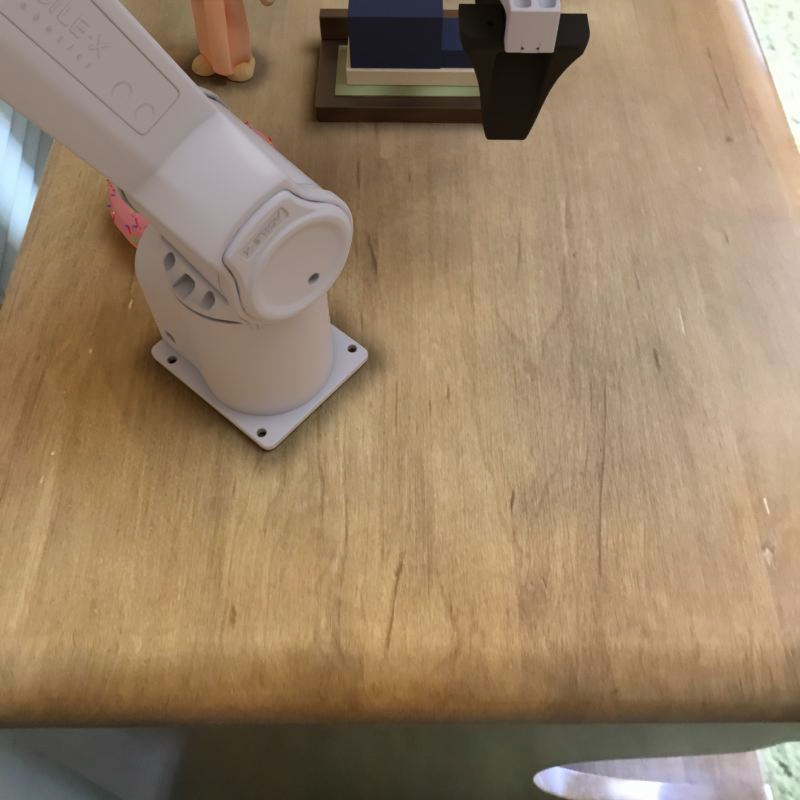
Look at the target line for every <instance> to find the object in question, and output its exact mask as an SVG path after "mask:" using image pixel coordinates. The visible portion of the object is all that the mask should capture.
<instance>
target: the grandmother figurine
mask: <svg viewBox="0 0 800 800" xmlns="http://www.w3.org/2000/svg"><path fill="white" fill-rule="evenodd" d="M275 1H276V0H259V2H260V3H261V4H262V6H264V7H271V6H272V5H274V3H275ZM190 5H191V11H192V16H193V17H192V18H193V22H194V29H195V35H196V41H197V45H198V51H199V52H200V54H199V55H197V56H196V57H195V58H194V59H193V60H192V63H191V70H192V72H193V73H194V74H195V75H197V76H201V77H210V76H214V75H215V74H217V75H220V76H224V77H226V78H227V79H228V80H230V81H232V82H233V81H234V82H246V81H247V82H248V81H249V80H250V79H252V78H253V76H254V74H255V68H256V59H255V57H254V56H253V55H252V47H251V39H250V29H249V28H250V27H249V21H248V17H247V12H246V9H245V5H244V1H243V0H190Z"/></svg>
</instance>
